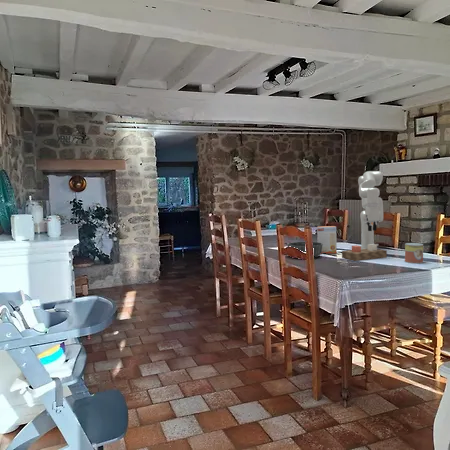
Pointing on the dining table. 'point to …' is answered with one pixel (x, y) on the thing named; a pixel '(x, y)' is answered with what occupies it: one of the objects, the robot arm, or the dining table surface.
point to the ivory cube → (372, 247)
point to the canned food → (414, 253)
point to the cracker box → (327, 238)
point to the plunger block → (364, 254)
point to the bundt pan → (301, 246)
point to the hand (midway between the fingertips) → (372, 230)
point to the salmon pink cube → (356, 248)
